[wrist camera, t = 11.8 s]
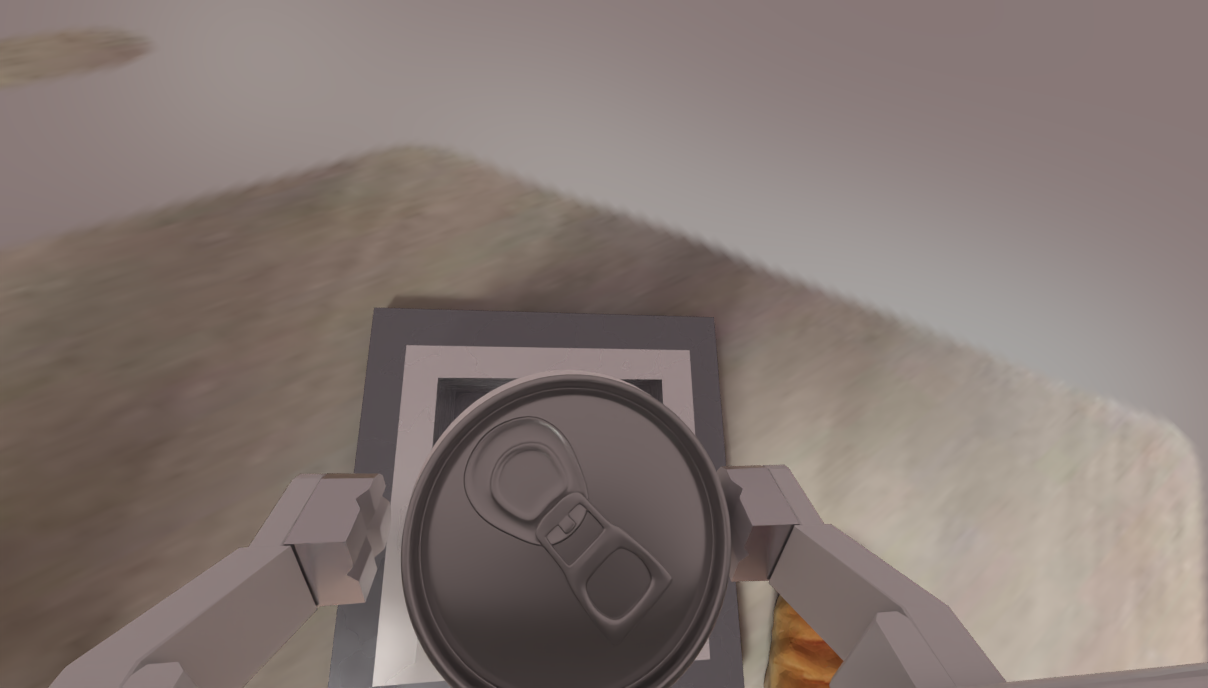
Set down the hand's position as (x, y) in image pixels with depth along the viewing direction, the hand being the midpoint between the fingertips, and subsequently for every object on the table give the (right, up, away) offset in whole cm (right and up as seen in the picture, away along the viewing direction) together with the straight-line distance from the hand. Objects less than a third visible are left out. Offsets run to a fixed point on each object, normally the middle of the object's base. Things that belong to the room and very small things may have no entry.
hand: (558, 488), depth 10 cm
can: (-1, -3, +10) cm, 10 cm away
